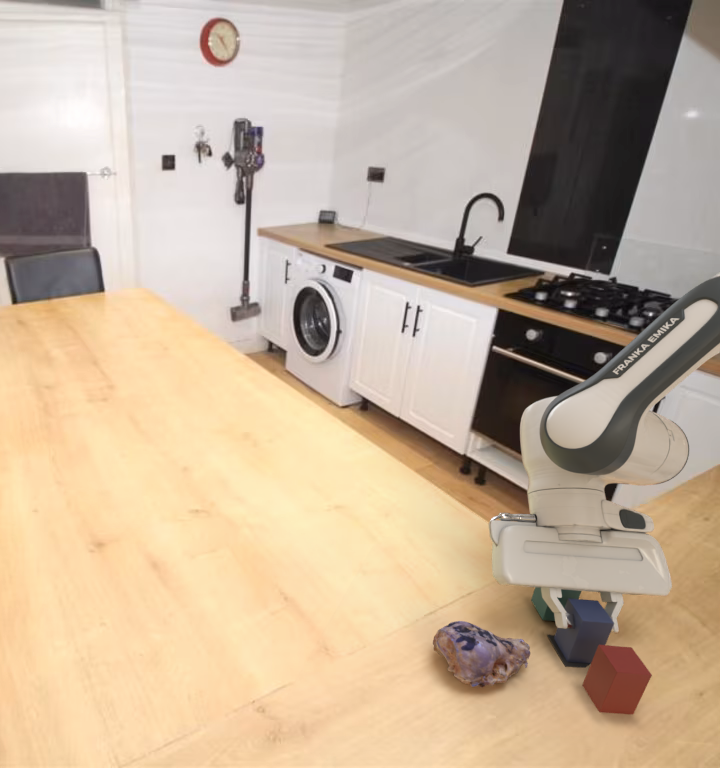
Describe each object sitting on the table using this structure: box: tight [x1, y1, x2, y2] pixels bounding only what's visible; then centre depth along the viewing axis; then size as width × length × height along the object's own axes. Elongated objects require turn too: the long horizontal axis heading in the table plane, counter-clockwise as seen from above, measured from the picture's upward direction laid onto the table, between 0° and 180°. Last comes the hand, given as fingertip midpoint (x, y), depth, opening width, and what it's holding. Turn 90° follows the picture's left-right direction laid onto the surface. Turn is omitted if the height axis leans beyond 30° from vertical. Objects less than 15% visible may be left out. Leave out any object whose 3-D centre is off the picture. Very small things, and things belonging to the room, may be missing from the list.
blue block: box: [554, 598, 614, 665], centre depth 68 cm, size 4×4×7 cm
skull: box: [432, 620, 531, 688], centre depth 66 cm, size 12×8×6 cm, turn 90°
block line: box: [530, 587, 653, 715], centre depth 68 cm, size 5×17×7 cm, turn 174°
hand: (587, 630), depth 67 cm, fingers closed on blue block, 4 cm apart
